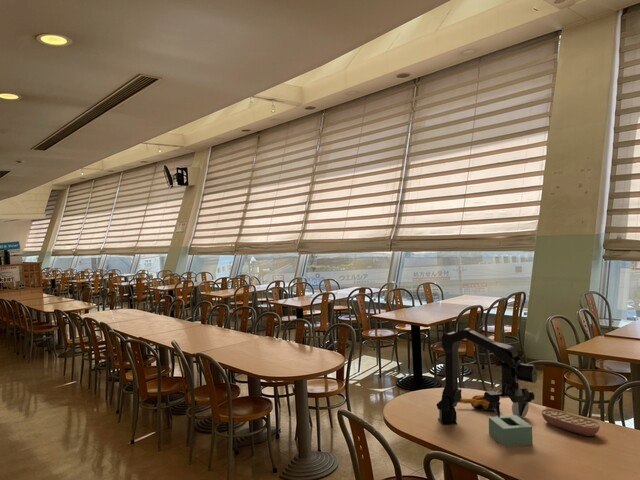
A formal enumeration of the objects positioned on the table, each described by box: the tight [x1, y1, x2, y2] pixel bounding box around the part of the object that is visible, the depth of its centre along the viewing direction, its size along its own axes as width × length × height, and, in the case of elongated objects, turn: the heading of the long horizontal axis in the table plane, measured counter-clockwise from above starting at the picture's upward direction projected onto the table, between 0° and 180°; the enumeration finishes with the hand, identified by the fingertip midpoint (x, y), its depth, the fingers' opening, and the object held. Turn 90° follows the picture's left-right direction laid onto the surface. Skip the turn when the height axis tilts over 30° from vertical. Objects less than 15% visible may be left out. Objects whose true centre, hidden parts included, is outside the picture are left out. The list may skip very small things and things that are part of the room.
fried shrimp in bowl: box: [458, 394, 501, 412], centre depth 220 cm, size 9×11×18 cm
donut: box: [511, 402, 530, 420], centre depth 208 cm, size 10×4×10 cm, turn 124°
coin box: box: [488, 414, 534, 448], centre depth 188 cm, size 12×12×7 cm
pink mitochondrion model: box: [541, 408, 600, 437], centre depth 196 cm, size 23×10×5 cm, turn 34°
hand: (509, 416), depth 188 cm, fingers open, 9 cm apart
